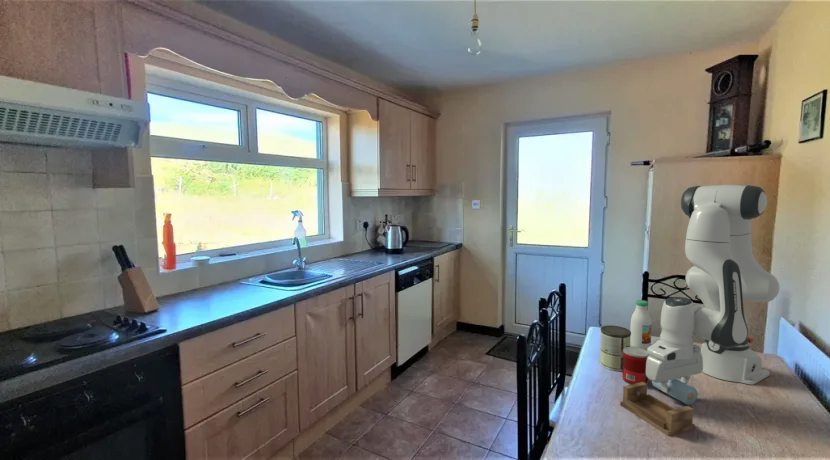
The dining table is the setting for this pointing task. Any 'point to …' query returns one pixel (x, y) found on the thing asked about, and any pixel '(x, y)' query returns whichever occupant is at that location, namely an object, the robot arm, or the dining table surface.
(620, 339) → the coffee can
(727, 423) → the dining table surface
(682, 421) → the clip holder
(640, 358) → the canned food
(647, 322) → the milk bottle
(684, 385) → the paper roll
